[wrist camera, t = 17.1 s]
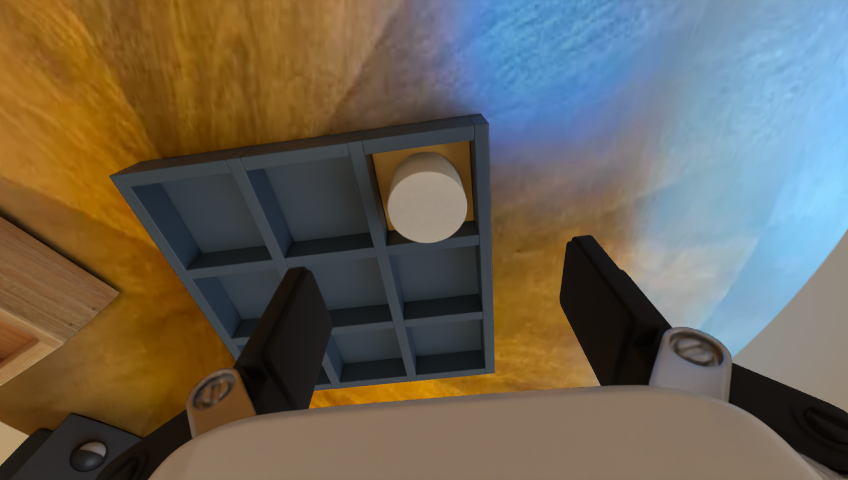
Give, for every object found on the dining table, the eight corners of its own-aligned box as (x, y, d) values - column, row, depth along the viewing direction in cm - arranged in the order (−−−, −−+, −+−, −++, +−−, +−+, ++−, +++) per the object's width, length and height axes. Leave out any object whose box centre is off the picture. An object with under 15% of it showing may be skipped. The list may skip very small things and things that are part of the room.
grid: (481, 113, 19) (488, 122, 17) (489, 350, 30) (494, 373, 28) (139, 161, 20) (108, 176, 18) (270, 373, 31) (260, 396, 29)
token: (457, 146, 19) (464, 165, 16) (462, 211, 22) (469, 238, 19) (385, 156, 20) (379, 177, 17) (397, 219, 22) (394, 247, 19)
